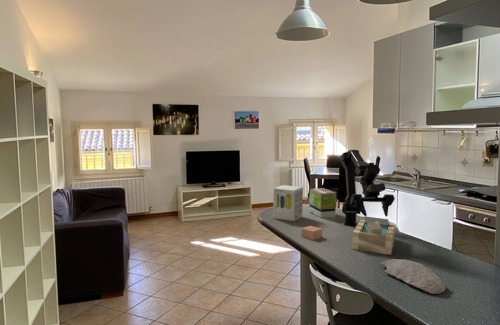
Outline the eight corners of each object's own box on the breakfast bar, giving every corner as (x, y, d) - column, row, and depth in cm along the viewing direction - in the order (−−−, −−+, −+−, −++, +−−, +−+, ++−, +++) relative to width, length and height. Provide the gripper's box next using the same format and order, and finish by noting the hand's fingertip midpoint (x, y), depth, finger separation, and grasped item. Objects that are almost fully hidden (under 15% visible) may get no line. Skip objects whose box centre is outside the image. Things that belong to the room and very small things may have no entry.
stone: (371, 268, 134) (422, 299, 110) (371, 254, 133) (422, 282, 109) (406, 262, 138) (461, 291, 115) (406, 249, 138) (462, 275, 114)
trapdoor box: (359, 234, 174) (360, 219, 173) (394, 239, 167) (395, 223, 166) (352, 248, 153) (353, 232, 152) (391, 254, 146) (392, 237, 145)
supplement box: (272, 218, 202) (273, 188, 200) (281, 213, 213) (282, 184, 211) (294, 221, 195) (295, 190, 194) (302, 216, 207) (303, 186, 205)
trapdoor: (366, 221, 169) (365, 216, 168) (388, 223, 165) (388, 219, 164) (360, 248, 156) (360, 243, 155) (384, 252, 152) (384, 247, 150)
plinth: (310, 233, 174) (310, 225, 173) (322, 237, 169) (322, 228, 168) (301, 236, 169) (301, 228, 169) (312, 240, 164) (313, 231, 164)
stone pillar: (368, 234, 160) (367, 223, 156) (377, 232, 159) (377, 221, 156) (371, 241, 156) (371, 229, 152) (381, 239, 156) (381, 227, 152)
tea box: (308, 212, 218) (309, 188, 216) (323, 211, 221) (324, 187, 219) (320, 218, 203) (321, 192, 202) (335, 217, 206) (336, 192, 205)
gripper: (353, 176, 159) (360, 206, 149) (394, 176, 159) (404, 206, 149) (347, 190, 167) (353, 219, 157) (386, 190, 168) (394, 219, 158)
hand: (376, 216), depth 155 cm, fingers open, 9 cm apart
